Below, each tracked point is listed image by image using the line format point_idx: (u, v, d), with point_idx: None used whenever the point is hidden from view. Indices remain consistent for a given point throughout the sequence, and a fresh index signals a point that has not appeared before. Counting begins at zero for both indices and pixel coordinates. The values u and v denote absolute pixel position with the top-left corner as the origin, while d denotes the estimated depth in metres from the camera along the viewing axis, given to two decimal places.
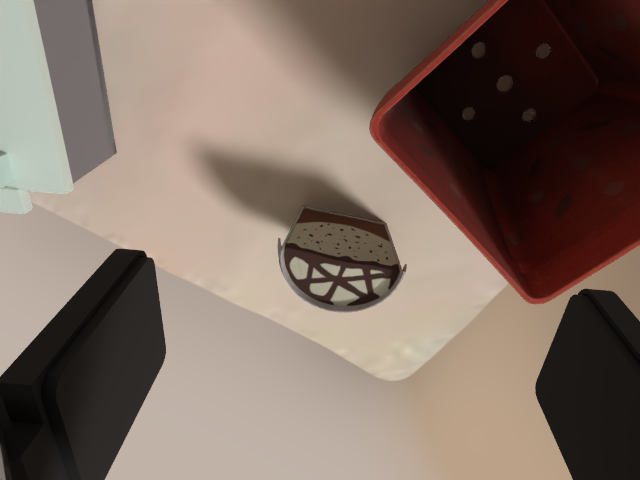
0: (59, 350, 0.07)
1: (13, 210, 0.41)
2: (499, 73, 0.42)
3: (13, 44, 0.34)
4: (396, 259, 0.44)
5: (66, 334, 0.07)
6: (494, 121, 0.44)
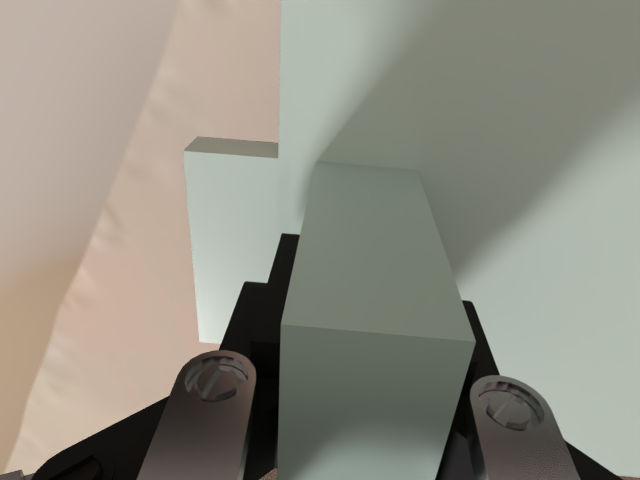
0: None
1: (207, 318, 0.13)
2: None
3: (635, 447, 0.15)
4: None
5: (283, 303, 0.08)
6: None
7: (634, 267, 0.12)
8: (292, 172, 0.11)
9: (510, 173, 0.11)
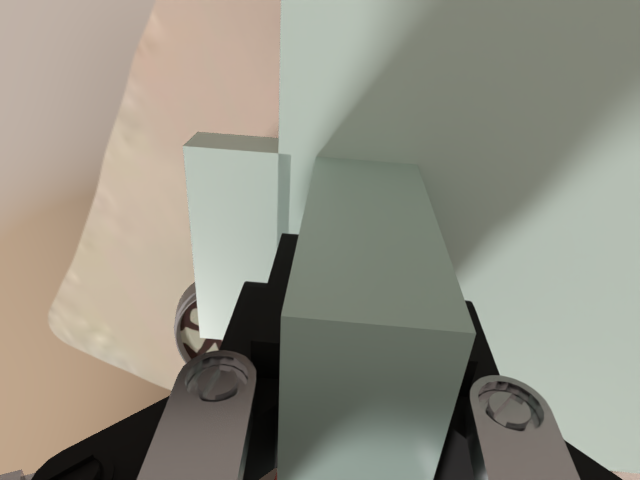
0: None
1: (207, 314, 0.13)
2: None
3: (635, 443, 0.15)
4: None
5: (283, 303, 0.08)
6: None
7: (634, 262, 0.12)
8: (292, 167, 0.11)
9: (510, 168, 0.11)
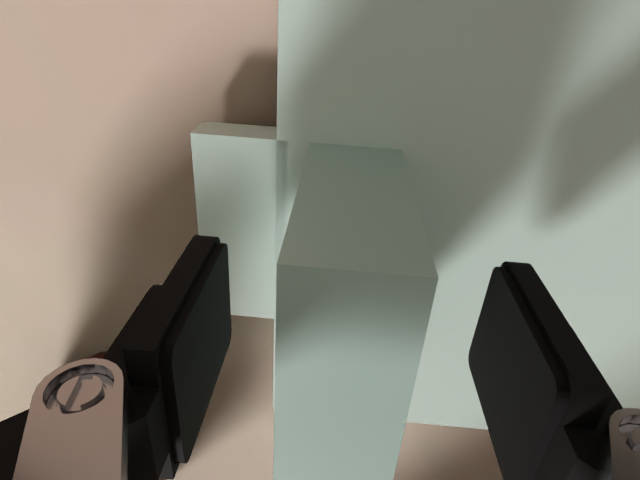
0: (170, 322, 0.08)
1: None
2: None
3: None
4: None
5: (171, 309, 0.08)
6: None
7: (601, 240, 0.13)
8: (289, 152, 0.12)
9: (486, 152, 0.12)
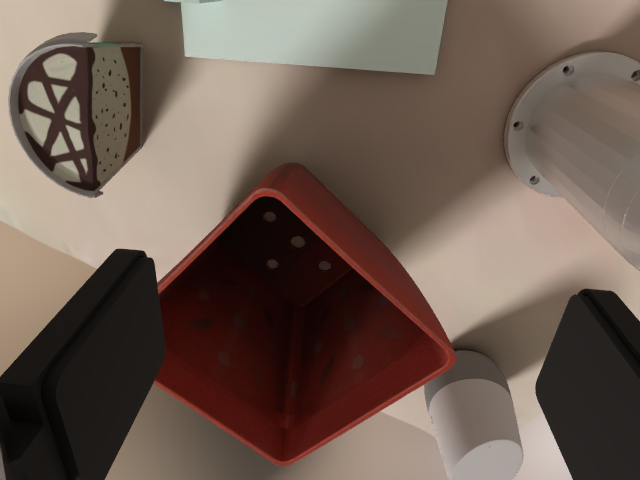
0: (59, 349, 0.07)
1: None
2: (306, 237, 0.47)
3: (328, 47, 0.37)
4: (105, 179, 0.38)
5: (66, 334, 0.07)
6: (264, 238, 0.48)
7: None
8: None
9: None
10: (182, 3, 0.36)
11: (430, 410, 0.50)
